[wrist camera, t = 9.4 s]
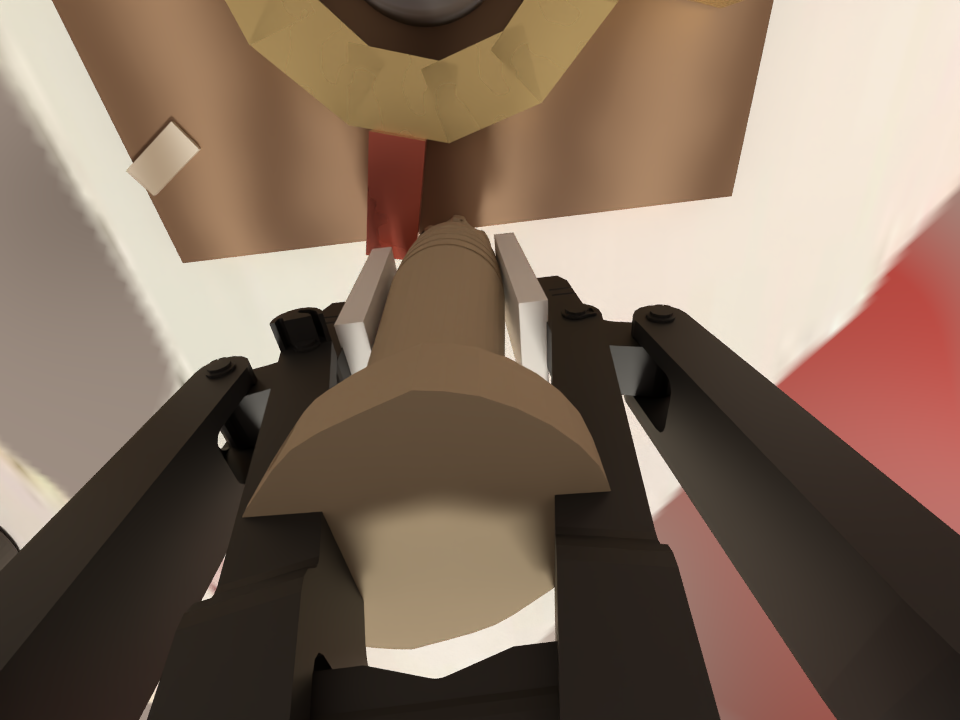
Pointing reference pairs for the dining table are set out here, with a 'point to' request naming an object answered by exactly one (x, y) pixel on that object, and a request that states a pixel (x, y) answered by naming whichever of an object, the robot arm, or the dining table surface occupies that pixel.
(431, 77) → the ring nut
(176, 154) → the board
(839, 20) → the dining table surface
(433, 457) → the handle
